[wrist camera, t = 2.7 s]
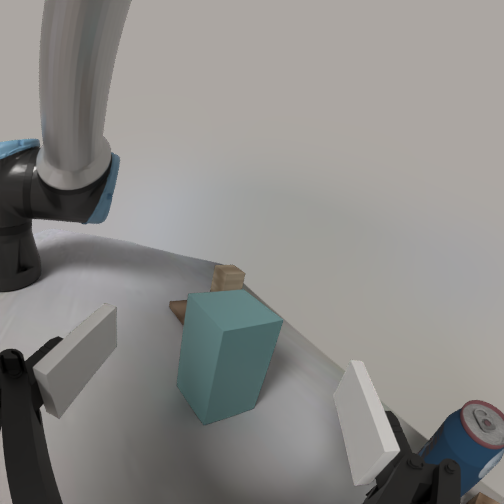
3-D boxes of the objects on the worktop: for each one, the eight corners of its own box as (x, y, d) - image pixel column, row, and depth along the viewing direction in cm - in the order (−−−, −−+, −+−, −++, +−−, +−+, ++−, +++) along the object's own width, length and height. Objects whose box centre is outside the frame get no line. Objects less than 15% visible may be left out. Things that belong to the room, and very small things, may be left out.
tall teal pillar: (176, 385, 29) (188, 293, 26) (223, 374, 33) (243, 289, 29) (203, 425, 24) (223, 331, 21) (253, 408, 28) (283, 319, 25)
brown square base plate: (169, 306, 45) (176, 254, 43) (230, 300, 52) (240, 254, 50) (203, 351, 36) (214, 290, 34) (271, 336, 44) (287, 284, 41)
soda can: (439, 523, 12) (527, 445, 9) (381, 533, 13) (475, 457, 10) (427, 476, 19) (496, 395, 16) (375, 478, 19) (444, 393, 16)
